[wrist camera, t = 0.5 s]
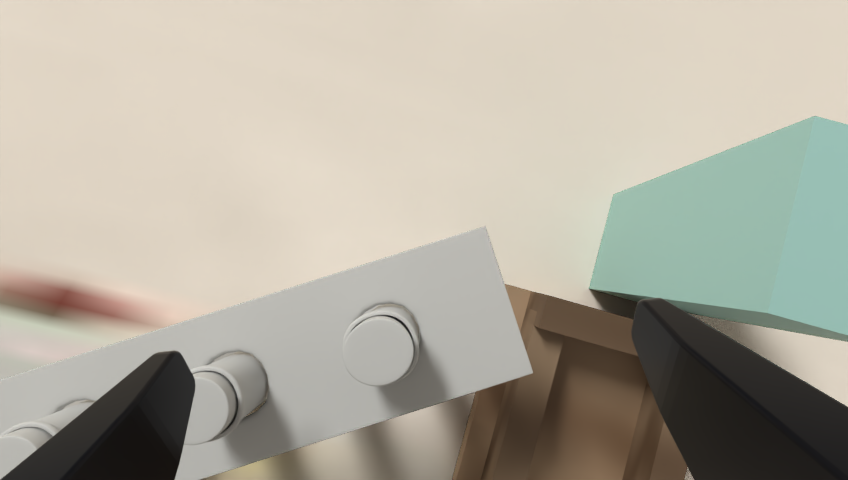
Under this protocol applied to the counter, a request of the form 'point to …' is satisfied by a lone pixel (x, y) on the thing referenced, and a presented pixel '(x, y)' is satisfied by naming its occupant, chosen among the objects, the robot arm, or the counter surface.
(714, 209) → the mint green tall box
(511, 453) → the track board
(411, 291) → the test tube rack
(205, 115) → the counter surface
